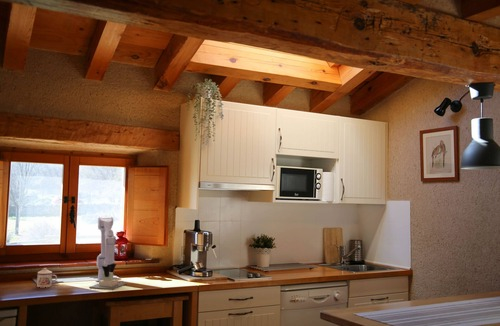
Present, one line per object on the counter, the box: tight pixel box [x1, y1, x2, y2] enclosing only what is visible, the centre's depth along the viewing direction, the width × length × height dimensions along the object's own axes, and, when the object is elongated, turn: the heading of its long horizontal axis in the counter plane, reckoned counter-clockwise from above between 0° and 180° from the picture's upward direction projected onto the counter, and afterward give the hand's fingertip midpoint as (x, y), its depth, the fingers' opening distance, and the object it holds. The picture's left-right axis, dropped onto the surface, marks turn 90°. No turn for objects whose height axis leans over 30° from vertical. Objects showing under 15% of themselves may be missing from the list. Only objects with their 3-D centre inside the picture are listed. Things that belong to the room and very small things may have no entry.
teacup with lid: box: [36, 267, 58, 289], centre depth 320 cm, size 12×9×12 cm
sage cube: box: [103, 272, 114, 281], centre depth 326 cm, size 5×5×5 cm
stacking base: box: [89, 278, 127, 291], centre depth 326 cm, size 20×16×4 cm
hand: (108, 275), depth 326 cm, fingers open, 7 cm apart
